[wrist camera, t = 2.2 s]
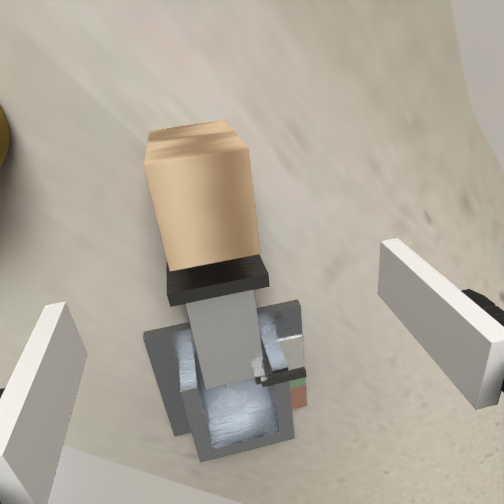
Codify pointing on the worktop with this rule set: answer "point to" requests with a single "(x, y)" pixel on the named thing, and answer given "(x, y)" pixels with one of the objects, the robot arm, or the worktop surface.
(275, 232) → the worktop surface
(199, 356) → the grey blocky piece
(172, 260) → the block
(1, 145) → the mug
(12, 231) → the worktop surface
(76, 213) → the worktop surface
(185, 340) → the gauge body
